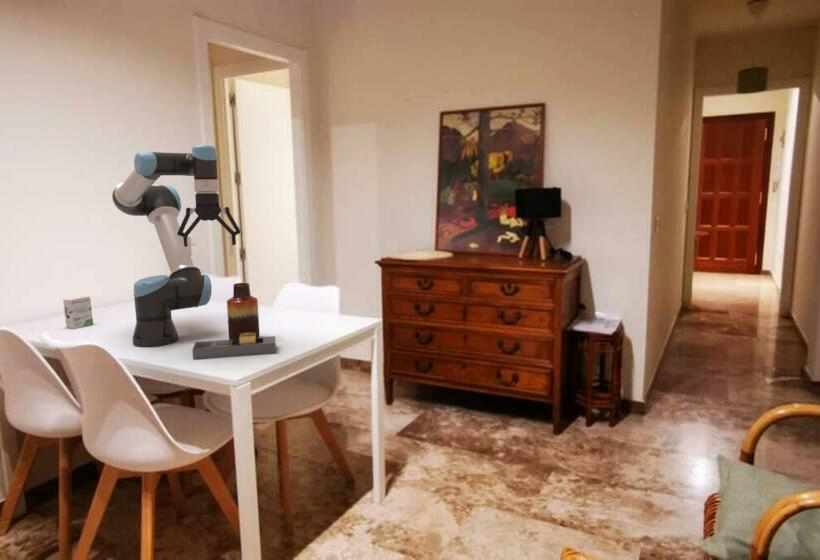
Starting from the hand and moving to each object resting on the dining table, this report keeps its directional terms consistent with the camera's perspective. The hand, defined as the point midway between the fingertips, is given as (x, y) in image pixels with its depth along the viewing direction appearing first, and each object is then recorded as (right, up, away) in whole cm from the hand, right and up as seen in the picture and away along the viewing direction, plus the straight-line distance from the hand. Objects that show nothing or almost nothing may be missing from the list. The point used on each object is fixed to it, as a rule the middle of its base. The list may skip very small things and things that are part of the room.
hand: (211, 255), depth 196 cm
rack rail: (+10, -33, -4) cm, 34 cm away
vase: (+7, -30, +14) cm, 34 cm away
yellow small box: (+14, -33, -3) cm, 35 cm away
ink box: (-66, -27, +37) cm, 80 cm away
